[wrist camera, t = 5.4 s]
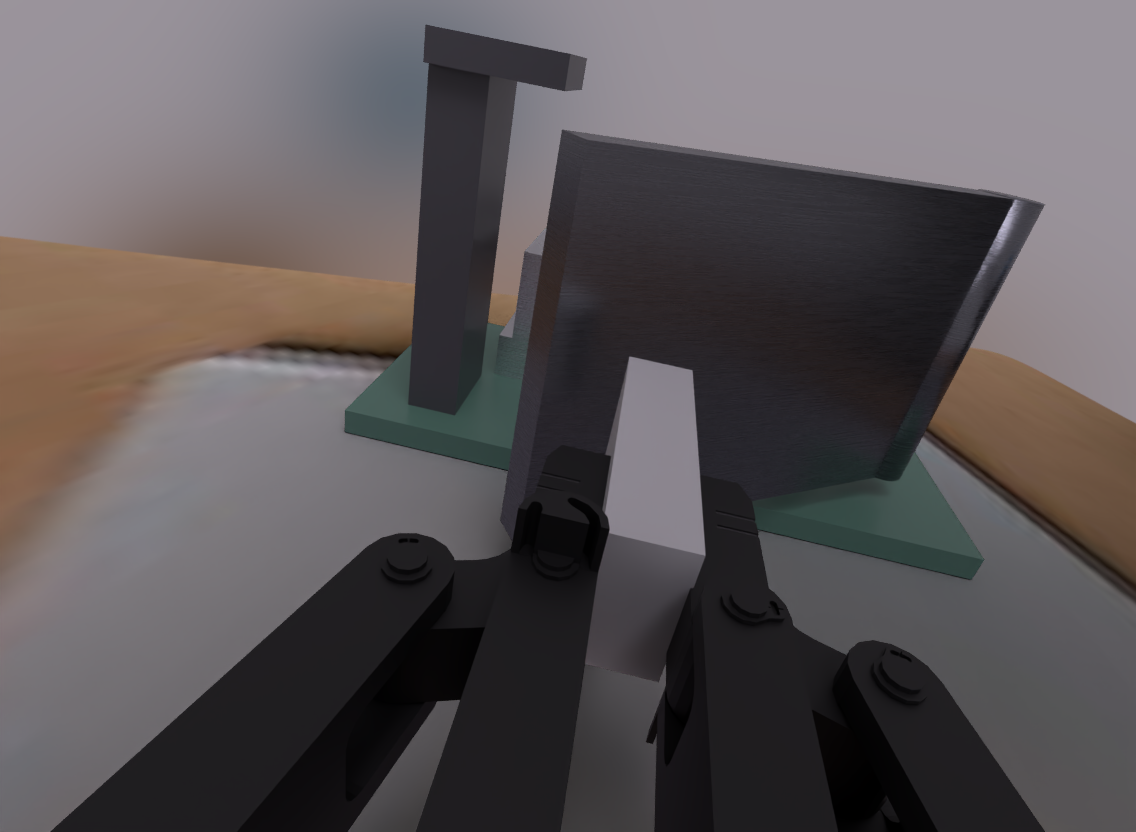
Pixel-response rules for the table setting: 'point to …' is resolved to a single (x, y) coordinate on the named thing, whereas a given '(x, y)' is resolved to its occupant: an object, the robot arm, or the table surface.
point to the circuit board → (825, 515)
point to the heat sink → (521, 316)
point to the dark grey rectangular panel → (756, 308)
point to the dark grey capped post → (466, 200)
